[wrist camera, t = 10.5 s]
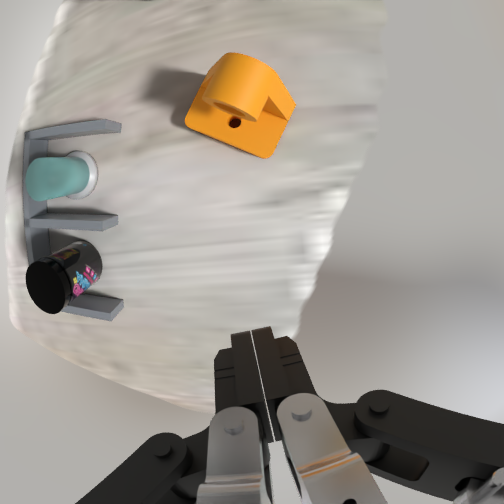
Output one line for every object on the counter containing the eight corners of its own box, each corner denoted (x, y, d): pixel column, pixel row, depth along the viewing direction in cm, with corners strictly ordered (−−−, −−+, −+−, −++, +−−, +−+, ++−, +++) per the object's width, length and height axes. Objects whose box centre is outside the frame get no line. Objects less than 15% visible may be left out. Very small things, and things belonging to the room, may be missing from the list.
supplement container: (76, 286, 39) (38, 316, 29) (62, 244, 37) (19, 266, 27) (110, 279, 39) (73, 311, 29) (96, 234, 37) (53, 255, 27)
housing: (121, 123, 33) (85, 113, 24) (123, 307, 40) (96, 338, 31) (43, 133, 33) (3, 131, 24) (51, 294, 40) (19, 318, 31)
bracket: (187, 128, 33) (155, 109, 22) (212, 77, 31) (192, 38, 20) (268, 161, 34) (274, 157, 23) (293, 109, 32) (310, 81, 21)
